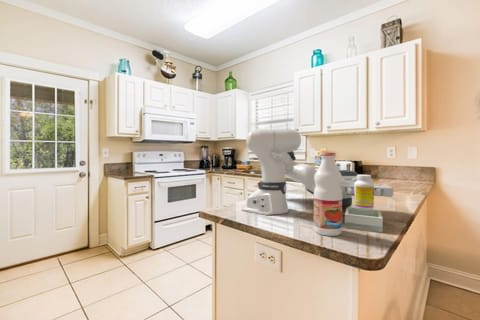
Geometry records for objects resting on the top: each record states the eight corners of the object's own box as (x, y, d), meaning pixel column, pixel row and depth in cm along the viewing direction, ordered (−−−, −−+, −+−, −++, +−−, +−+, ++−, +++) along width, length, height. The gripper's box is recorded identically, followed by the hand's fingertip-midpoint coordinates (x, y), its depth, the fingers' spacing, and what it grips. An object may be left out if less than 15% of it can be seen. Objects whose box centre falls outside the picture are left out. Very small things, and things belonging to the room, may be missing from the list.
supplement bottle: (376, 211, 85) (376, 176, 85) (356, 210, 87) (357, 176, 86) (369, 206, 92) (370, 174, 91) (351, 206, 93) (352, 174, 93)
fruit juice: (324, 225, 89) (324, 152, 88) (347, 232, 82) (348, 152, 80) (308, 230, 84) (308, 152, 83) (331, 238, 76) (332, 152, 75)
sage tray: (344, 227, 87) (344, 214, 87) (346, 219, 98) (346, 207, 97) (382, 232, 81) (382, 218, 81) (379, 222, 92) (380, 210, 92)
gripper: (391, 196, 96) (396, 203, 84) (337, 192, 105) (335, 198, 93) (392, 181, 96) (396, 186, 83) (338, 179, 105) (335, 182, 93)
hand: (363, 192), depth 88 cm, fingers closed on supplement bottle, 7 cm apart
